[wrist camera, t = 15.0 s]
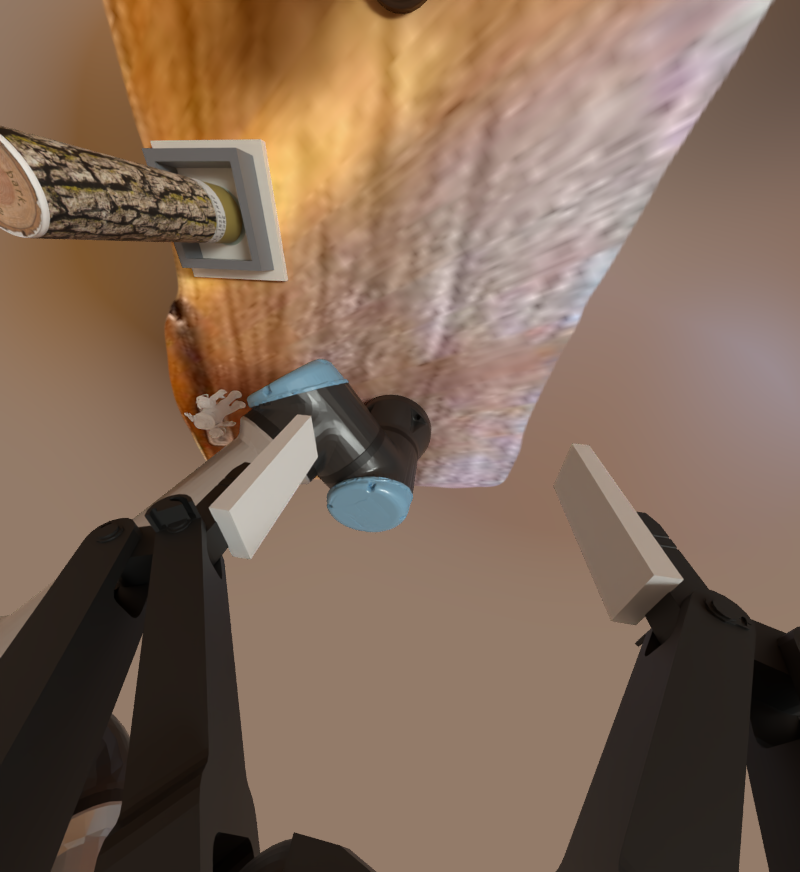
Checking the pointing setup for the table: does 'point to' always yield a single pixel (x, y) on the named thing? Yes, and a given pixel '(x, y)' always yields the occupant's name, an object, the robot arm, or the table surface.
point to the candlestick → (401, 5)
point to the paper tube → (105, 197)
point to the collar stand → (252, 191)
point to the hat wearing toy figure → (216, 411)
